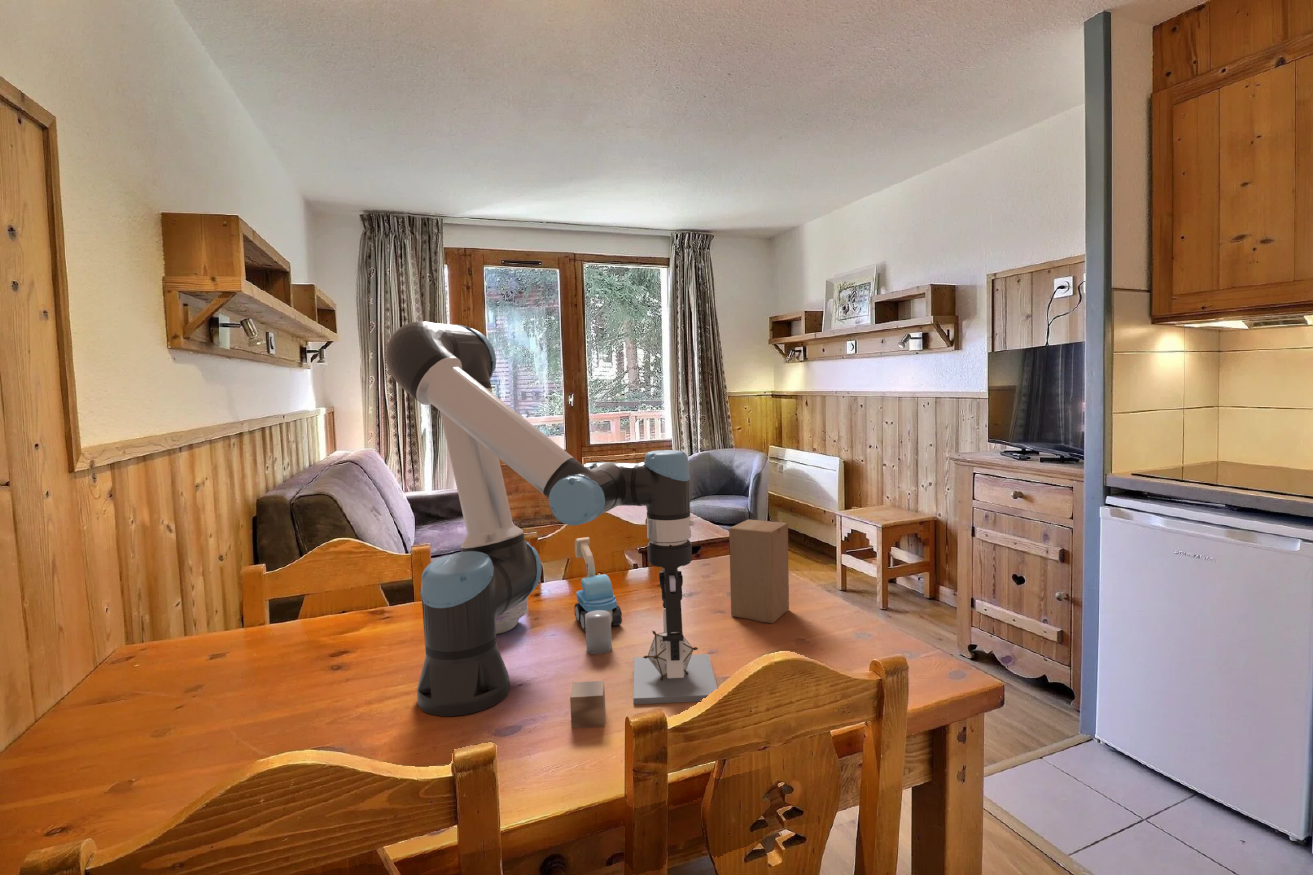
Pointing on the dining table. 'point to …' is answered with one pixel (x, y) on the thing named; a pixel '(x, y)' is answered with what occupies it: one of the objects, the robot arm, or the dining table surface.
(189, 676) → the dining table surface
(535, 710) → the dining table surface
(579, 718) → the walnut block
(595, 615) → the grey cylinder
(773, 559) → the wooden block
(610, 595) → the toy excavator
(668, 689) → the slate board
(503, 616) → the paper bowls
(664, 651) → the game die
